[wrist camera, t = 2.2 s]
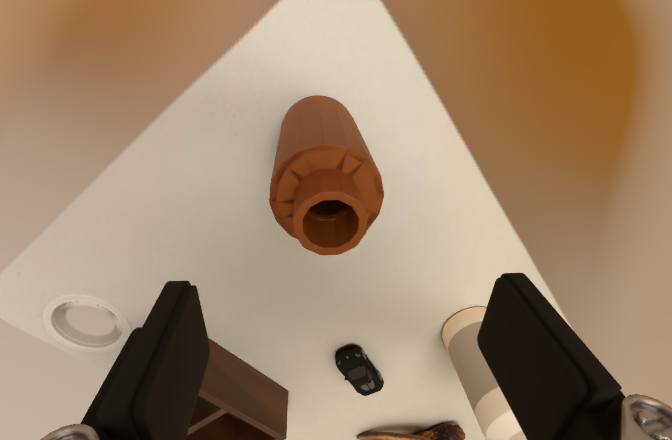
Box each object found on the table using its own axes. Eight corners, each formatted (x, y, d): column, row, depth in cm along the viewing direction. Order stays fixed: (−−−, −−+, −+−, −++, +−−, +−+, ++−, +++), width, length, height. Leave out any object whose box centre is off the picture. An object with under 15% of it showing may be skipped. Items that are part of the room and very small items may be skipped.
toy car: (330, 351, 39) (331, 367, 38) (357, 339, 39) (360, 355, 37) (359, 387, 43) (362, 403, 41) (385, 377, 43) (388, 393, 41)
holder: (237, 419, 45) (229, 468, 40) (125, 358, 37) (99, 409, 32) (288, 390, 42) (286, 438, 38) (180, 319, 35) (160, 367, 30)
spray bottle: (494, 296, 37) (631, 497, 22) (505, 335, 40) (630, 533, 25) (433, 319, 38) (523, 527, 23) (449, 355, 41) (536, 557, 26)
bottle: (268, 146, 27) (243, 246, 15) (304, 80, 25) (305, 138, 13) (330, 179, 29) (349, 291, 17) (369, 120, 26) (420, 203, 15)
